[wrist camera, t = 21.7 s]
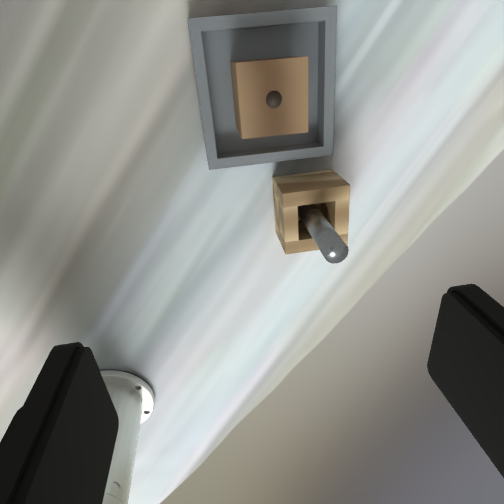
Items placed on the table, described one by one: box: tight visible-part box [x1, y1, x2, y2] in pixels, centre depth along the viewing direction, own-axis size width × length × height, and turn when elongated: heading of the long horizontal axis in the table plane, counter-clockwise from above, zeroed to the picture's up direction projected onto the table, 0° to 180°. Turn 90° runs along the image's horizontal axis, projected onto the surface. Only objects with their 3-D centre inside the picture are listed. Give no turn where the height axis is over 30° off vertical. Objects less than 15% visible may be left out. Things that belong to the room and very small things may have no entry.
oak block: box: [272, 169, 350, 254], centre depth 40 cm, size 7×7×6 cm
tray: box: [187, 6, 337, 170], centre depth 35 cm, size 13×13×3 cm
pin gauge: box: [298, 204, 348, 263], centre depth 37 cm, size 2×2×12 cm
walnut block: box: [230, 57, 308, 139], centre depth 33 cm, size 6×6×6 cm
